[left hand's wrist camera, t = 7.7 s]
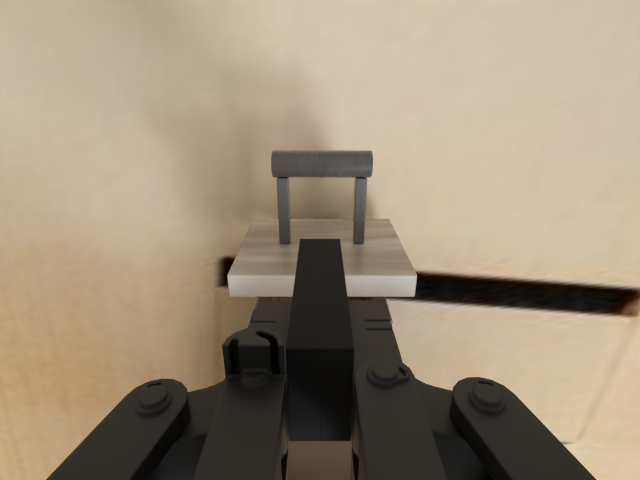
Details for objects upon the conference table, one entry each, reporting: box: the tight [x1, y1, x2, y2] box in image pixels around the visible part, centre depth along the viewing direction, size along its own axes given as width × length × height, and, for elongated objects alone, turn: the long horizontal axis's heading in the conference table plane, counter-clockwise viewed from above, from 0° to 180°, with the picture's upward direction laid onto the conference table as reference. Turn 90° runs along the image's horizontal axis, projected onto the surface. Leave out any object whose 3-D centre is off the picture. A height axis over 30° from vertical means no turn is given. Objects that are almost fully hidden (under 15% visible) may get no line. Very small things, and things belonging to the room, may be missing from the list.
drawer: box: [227, 151, 417, 325], centre depth 24 cm, size 22×9×8 cm, turn 0°
